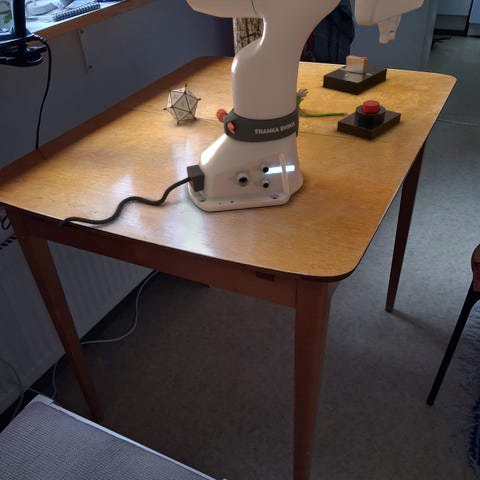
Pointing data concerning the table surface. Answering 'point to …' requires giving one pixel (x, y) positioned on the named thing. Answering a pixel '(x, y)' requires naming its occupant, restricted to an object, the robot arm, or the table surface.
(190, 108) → the game die
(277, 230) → the table surface
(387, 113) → the button block
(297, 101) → the decorative flower
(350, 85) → the panel
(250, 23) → the bark textured post
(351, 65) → the beige rectangular block
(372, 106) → the button
